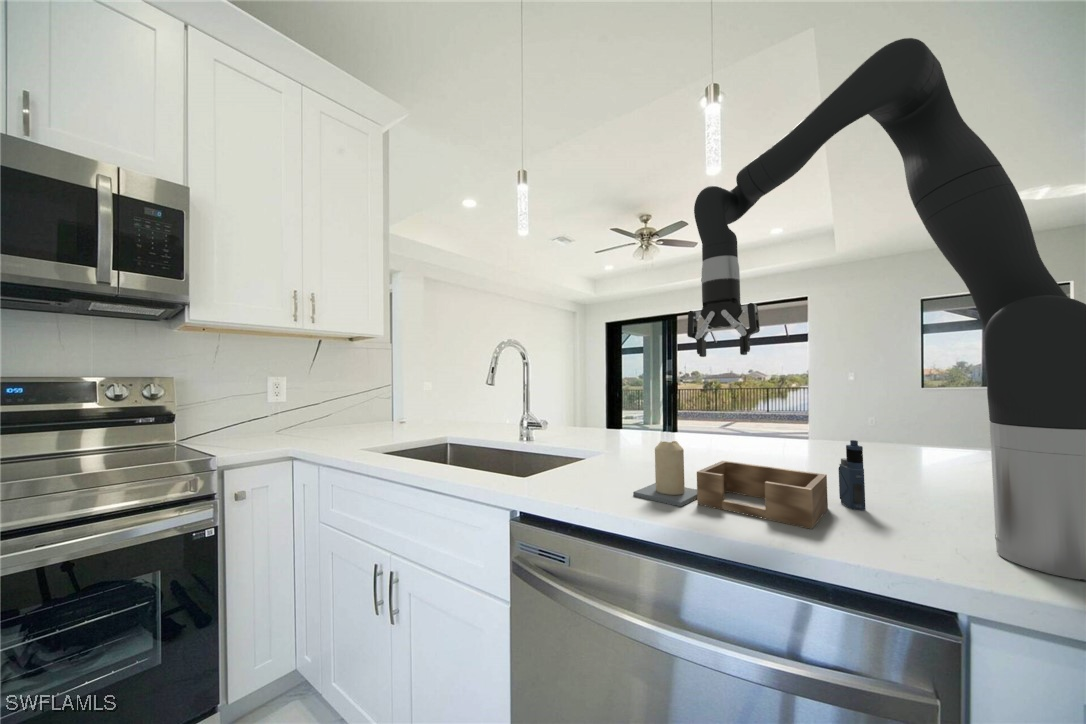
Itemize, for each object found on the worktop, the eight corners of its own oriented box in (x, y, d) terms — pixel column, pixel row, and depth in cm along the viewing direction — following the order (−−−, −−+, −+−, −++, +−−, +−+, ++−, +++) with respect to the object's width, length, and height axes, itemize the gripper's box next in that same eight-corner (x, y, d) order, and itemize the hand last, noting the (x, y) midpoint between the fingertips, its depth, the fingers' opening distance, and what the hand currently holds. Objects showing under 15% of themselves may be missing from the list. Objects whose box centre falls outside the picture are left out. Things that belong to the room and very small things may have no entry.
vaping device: (851, 510, 70) (849, 441, 70) (837, 501, 75) (835, 437, 75) (869, 511, 69) (866, 442, 70) (853, 502, 74) (850, 437, 75)
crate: (827, 508, 71) (826, 474, 71) (812, 529, 62) (810, 489, 62) (723, 489, 84) (722, 460, 84) (697, 504, 74) (696, 471, 74)
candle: (681, 488, 82) (680, 439, 83) (687, 495, 77) (686, 443, 77) (653, 487, 83) (652, 438, 83) (658, 495, 77) (656, 443, 78)
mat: (703, 494, 80) (703, 490, 80) (681, 506, 73) (681, 502, 73) (657, 485, 87) (657, 482, 87) (633, 495, 80) (633, 491, 80)
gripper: (761, 278, 84) (764, 354, 83) (695, 289, 94) (697, 357, 93) (750, 271, 79) (752, 353, 78) (681, 283, 89) (682, 356, 88)
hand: (722, 355), depth 86 cm, fingers open, 8 cm apart
